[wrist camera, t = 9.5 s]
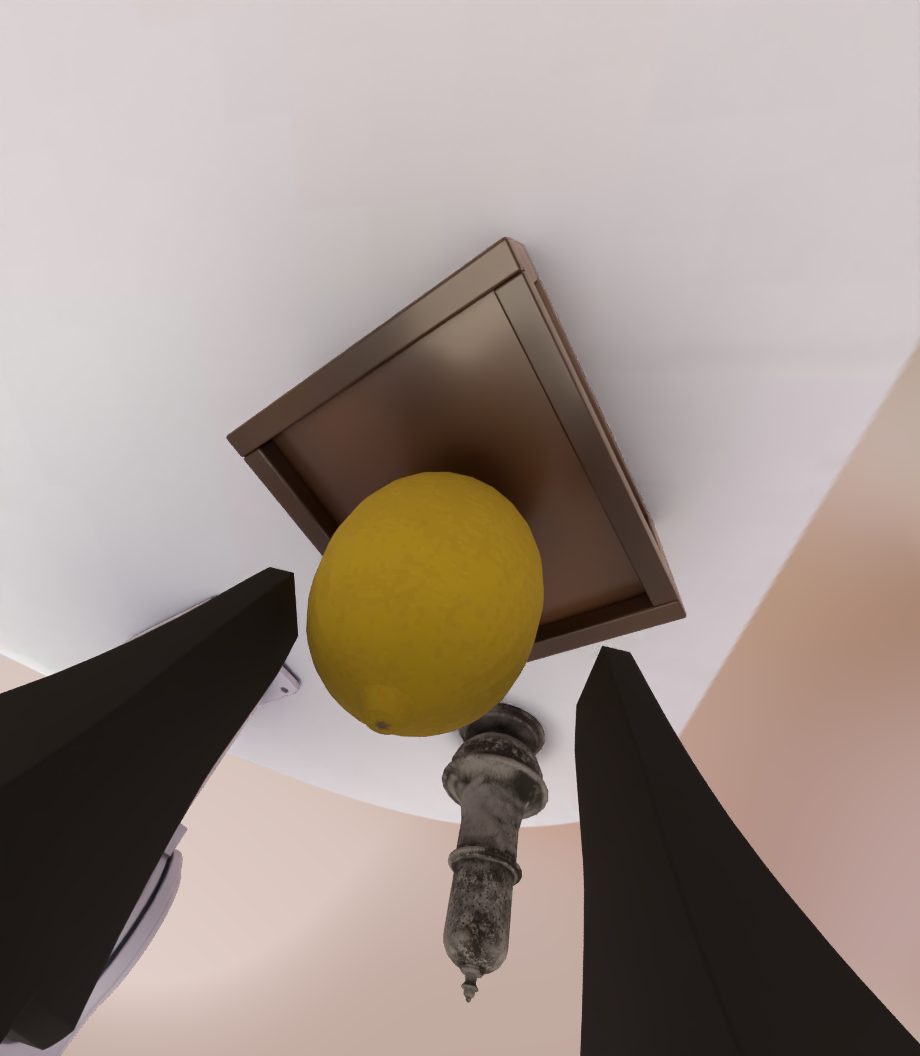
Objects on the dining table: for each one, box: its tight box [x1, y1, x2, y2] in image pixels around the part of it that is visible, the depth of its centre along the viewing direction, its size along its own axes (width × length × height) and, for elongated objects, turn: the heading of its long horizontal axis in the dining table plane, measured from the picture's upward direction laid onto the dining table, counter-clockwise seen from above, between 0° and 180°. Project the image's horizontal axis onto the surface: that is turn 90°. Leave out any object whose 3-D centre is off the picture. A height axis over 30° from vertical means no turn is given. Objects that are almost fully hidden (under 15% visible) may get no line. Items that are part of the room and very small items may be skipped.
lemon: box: [306, 472, 544, 737], centre depth 11 cm, size 6×6×8 cm
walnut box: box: [226, 237, 686, 662], centre depth 17 cm, size 10×12×6 cm
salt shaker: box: [442, 704, 548, 1002], centre depth 23 cm, size 6×6×12 cm
